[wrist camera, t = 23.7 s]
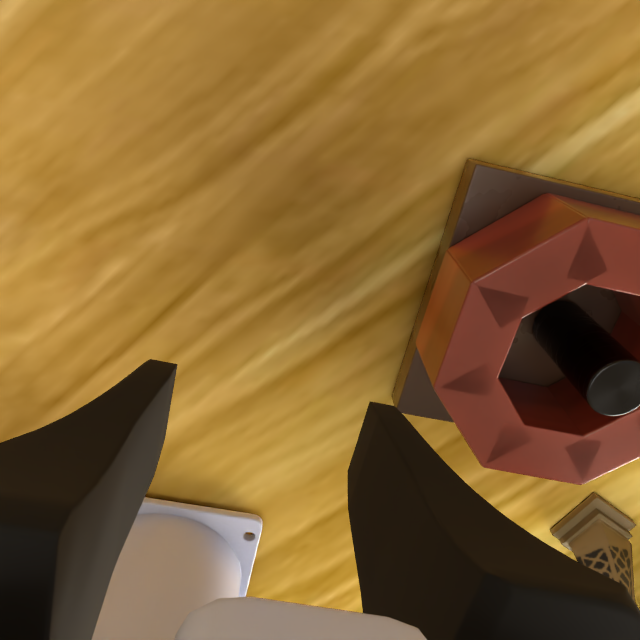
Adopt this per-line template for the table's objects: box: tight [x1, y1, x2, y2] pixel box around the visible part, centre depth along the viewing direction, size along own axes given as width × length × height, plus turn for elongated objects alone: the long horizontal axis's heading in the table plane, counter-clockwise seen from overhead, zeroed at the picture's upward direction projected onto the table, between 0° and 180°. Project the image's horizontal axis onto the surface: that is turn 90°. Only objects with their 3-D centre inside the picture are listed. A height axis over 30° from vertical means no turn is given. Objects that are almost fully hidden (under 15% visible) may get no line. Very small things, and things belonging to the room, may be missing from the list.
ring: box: [416, 193, 640, 485], centre depth 21 cm, size 9×9×3 cm
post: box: [392, 159, 640, 422], centre depth 21 cm, size 10×10×6 cm
